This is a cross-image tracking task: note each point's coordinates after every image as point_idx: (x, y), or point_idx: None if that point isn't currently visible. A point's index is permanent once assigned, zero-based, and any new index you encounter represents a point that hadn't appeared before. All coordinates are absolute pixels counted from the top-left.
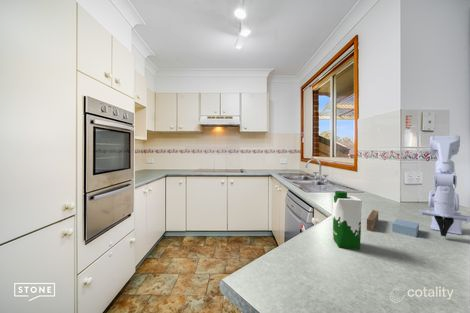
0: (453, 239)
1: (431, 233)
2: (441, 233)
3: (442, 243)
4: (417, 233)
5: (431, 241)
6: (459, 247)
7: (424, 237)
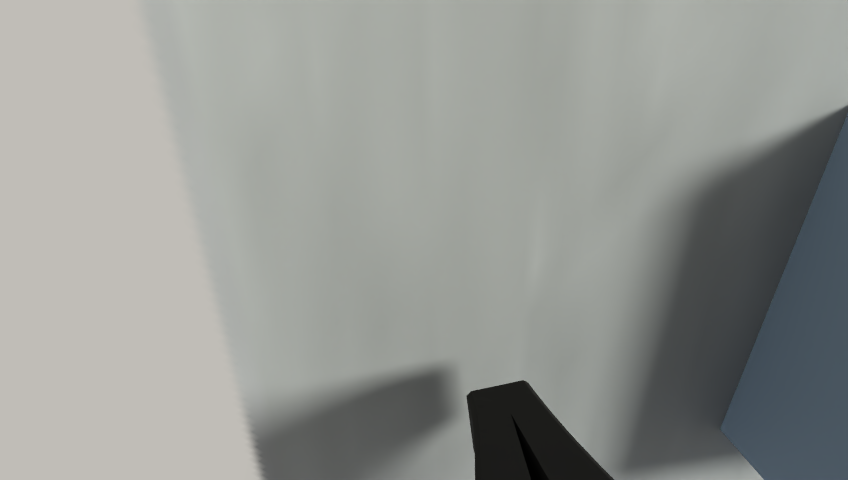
0: (379, 451)
1: None
2: (543, 407)
3: (498, 120)
4: (787, 300)
5: (654, 73)
6: (259, 129)
7: (715, 218)
